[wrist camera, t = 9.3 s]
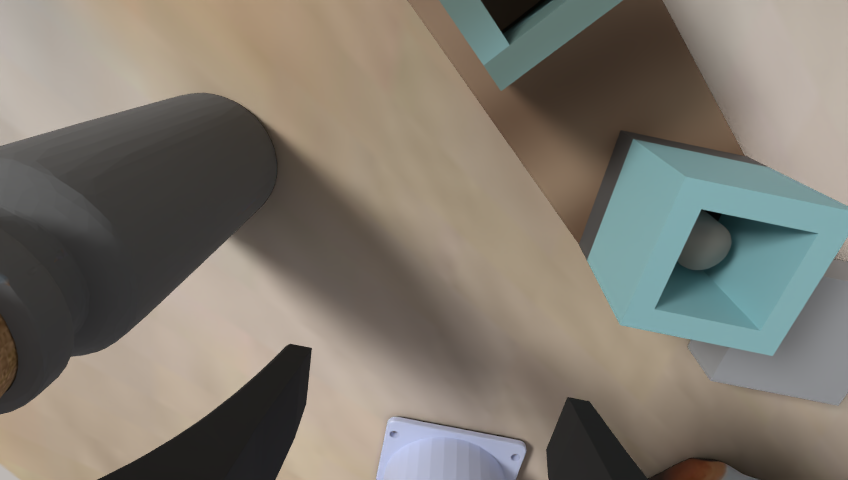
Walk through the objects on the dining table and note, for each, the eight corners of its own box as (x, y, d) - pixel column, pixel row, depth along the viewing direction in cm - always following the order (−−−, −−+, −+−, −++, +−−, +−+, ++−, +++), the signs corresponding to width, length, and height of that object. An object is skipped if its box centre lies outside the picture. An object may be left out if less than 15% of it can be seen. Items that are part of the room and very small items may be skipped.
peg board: (759, 208, 21) (899, 299, 14) (612, 288, 23) (675, 401, 16) (534, -207, 16) (589, -374, 9) (372, -54, 18) (319, -96, 11)
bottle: (231, 241, 24) (-79, 543, 10) (128, 157, 22) (-396, 378, 9) (305, 159, 22) (41, 398, 8) (196, 61, 20) (-346, 152, 7)
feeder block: (803, 369, 24) (838, 405, 22) (687, 346, 24) (710, 380, 22) (871, 266, 22) (918, 295, 20) (741, 240, 22) (774, 266, 20)
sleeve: (691, 267, 21) (772, 356, 15) (578, 244, 21) (620, 325, 15) (746, 156, 19) (862, 213, 13) (620, 130, 19) (685, 176, 13)
